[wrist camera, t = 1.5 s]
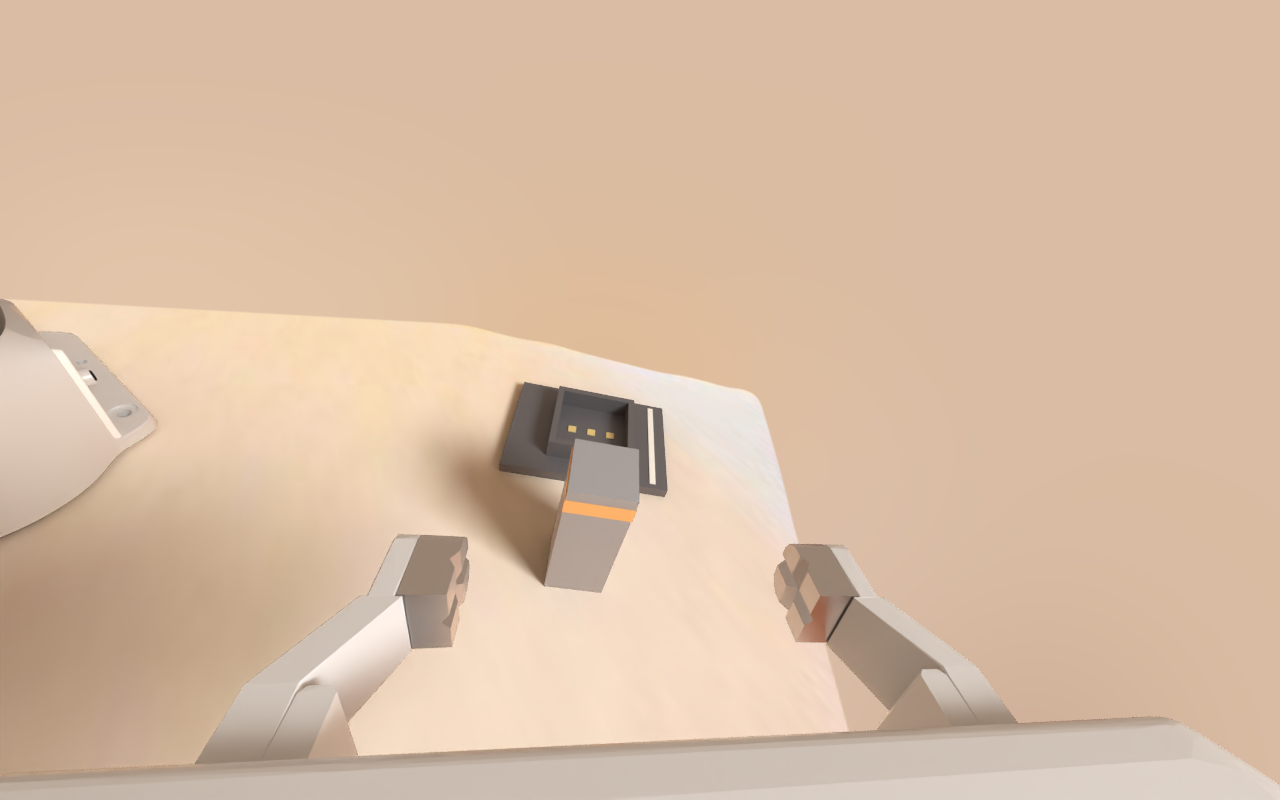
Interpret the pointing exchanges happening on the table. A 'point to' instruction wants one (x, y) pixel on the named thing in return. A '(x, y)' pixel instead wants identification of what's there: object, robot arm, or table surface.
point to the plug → (593, 515)
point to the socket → (582, 433)
